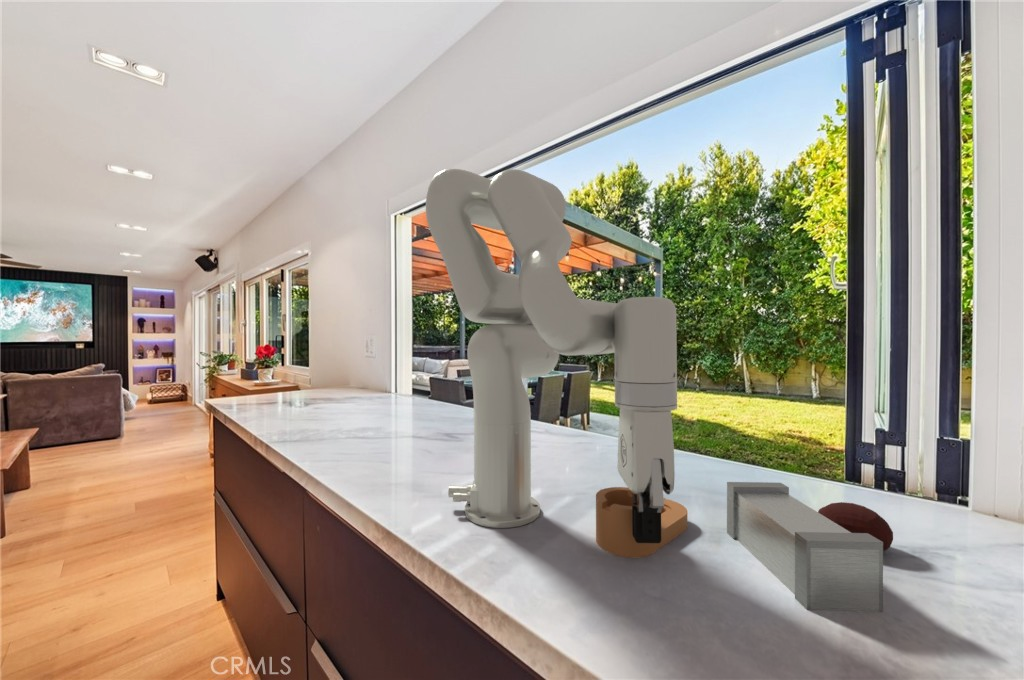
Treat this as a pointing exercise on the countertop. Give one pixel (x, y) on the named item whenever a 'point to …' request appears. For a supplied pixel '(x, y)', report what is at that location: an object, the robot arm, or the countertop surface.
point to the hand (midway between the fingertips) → (646, 539)
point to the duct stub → (806, 549)
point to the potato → (859, 521)
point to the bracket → (618, 523)
